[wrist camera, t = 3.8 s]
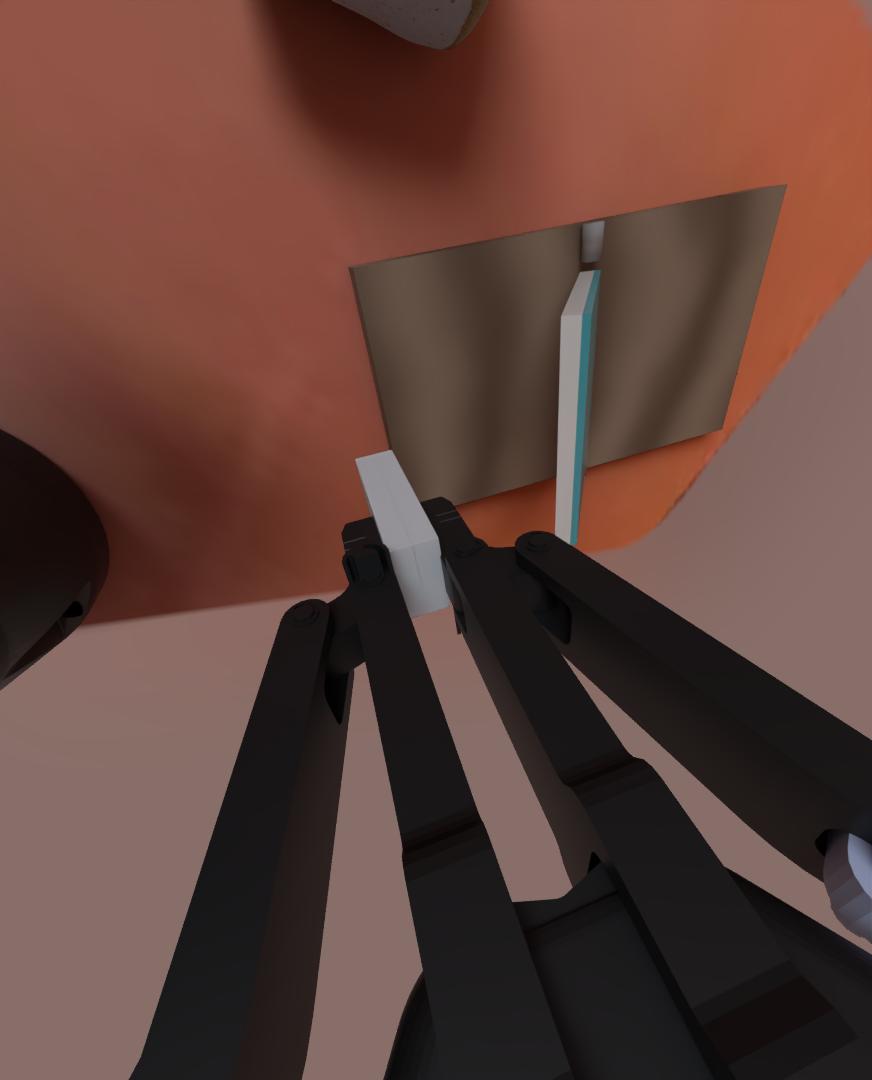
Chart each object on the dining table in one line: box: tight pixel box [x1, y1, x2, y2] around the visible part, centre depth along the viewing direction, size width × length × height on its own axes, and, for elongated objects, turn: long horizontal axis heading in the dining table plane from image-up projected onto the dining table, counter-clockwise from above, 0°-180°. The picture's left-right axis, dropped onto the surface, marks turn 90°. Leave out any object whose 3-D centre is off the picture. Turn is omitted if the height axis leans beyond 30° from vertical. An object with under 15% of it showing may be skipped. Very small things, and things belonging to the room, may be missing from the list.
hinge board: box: [349, 184, 787, 506], centre depth 26 cm, size 24×14×2 cm, turn 99°
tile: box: [555, 270, 601, 545], centre depth 21 cm, size 10×10×1 cm
